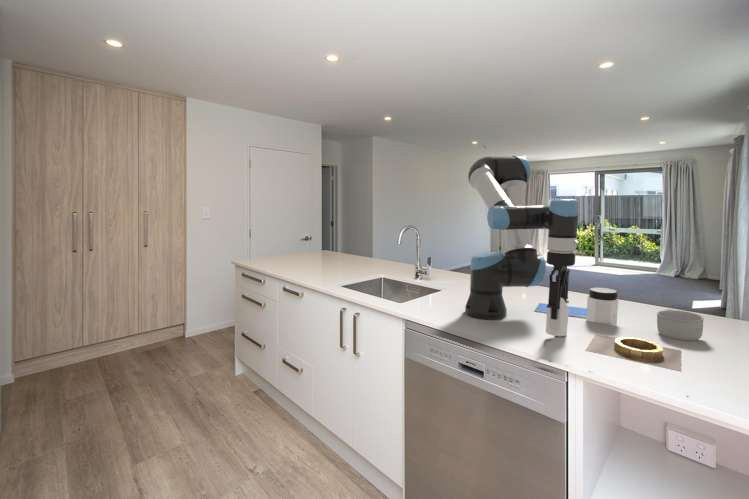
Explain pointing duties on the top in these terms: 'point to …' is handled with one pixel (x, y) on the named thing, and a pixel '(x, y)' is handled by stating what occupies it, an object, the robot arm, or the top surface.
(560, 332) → the white tall rounded piece
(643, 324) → the top surface
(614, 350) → the walnut board
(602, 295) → the jar
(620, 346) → the collar
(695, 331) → the teacup
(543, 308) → the tablet computer
